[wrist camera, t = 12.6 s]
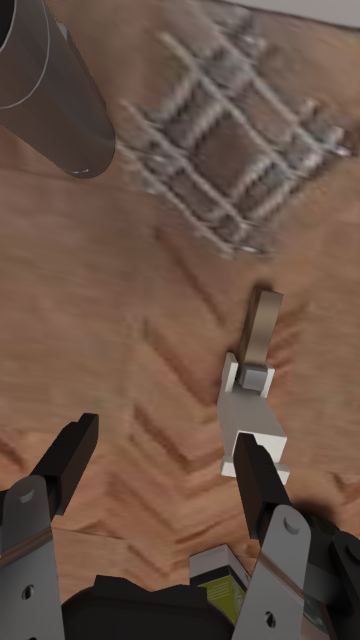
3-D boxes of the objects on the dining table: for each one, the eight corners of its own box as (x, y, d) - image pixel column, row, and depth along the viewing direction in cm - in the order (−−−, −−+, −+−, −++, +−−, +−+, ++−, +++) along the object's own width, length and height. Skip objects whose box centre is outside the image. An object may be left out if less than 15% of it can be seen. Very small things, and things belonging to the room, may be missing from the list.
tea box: (255, 580, 51) (281, 704, 37) (218, 592, 53) (229, 715, 38) (226, 541, 48) (242, 659, 34) (187, 555, 50) (187, 673, 35)
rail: (253, 287, 33) (267, 292, 27) (272, 290, 33) (290, 296, 27) (233, 370, 37) (241, 390, 31) (250, 373, 37) (262, 394, 31)
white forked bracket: (223, 351, 36) (241, 398, 24) (269, 358, 36) (313, 409, 24) (210, 406, 39) (221, 474, 26) (254, 413, 39) (285, 484, 26)
